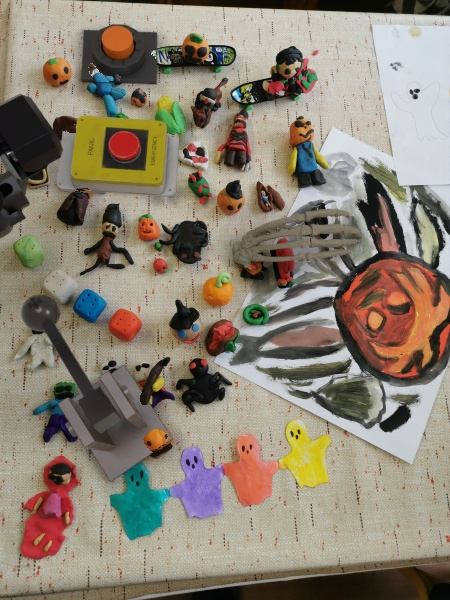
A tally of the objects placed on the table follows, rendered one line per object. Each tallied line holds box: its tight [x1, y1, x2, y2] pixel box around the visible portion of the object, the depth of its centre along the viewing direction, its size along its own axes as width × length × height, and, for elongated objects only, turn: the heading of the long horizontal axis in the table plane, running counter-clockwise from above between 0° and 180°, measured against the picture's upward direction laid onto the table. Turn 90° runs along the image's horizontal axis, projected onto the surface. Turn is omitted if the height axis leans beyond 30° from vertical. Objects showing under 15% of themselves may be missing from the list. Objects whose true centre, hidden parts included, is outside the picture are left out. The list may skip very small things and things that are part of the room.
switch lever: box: [20, 293, 122, 434], centre depth 51 cm, size 15×4×4 cm, turn 35°
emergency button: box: [55, 115, 180, 198], centre depth 70 cm, size 9×4×15 cm
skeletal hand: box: [232, 208, 362, 272], centre depth 68 cm, size 6×17×6 cm, turn 102°
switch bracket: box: [57, 364, 173, 483], centre depth 55 cm, size 10×8×17 cm
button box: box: [80, 23, 158, 85], centre depth 75 cm, size 10×8×2 cm
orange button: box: [102, 26, 134, 60], centre depth 74 cm, size 4×4×2 cm
